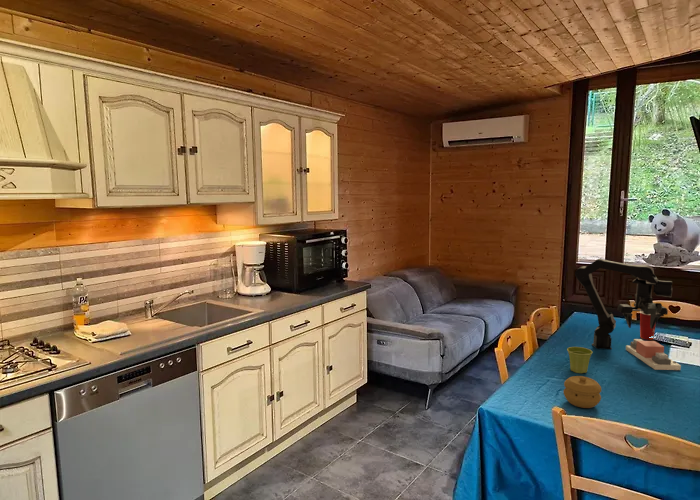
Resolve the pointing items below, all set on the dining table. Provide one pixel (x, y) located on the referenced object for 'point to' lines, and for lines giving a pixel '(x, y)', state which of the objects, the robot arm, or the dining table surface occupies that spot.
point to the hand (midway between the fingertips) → (640, 328)
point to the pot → (582, 391)
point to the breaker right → (661, 356)
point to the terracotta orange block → (649, 348)
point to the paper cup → (646, 326)
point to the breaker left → (637, 340)
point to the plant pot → (579, 359)
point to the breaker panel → (654, 360)
